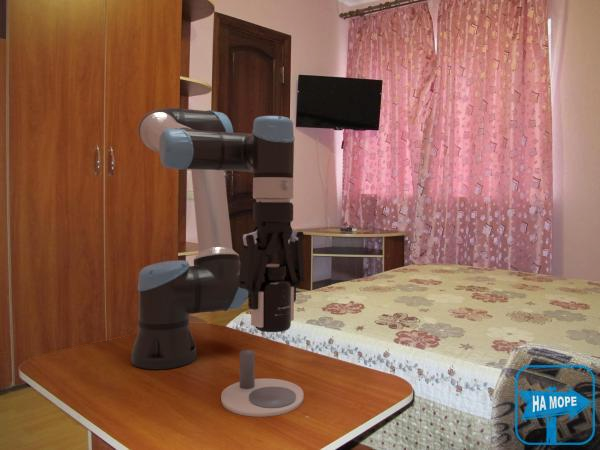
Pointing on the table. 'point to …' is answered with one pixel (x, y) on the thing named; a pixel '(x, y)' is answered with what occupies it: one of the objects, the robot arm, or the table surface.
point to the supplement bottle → (276, 299)
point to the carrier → (260, 392)
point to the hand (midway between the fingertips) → (272, 322)
